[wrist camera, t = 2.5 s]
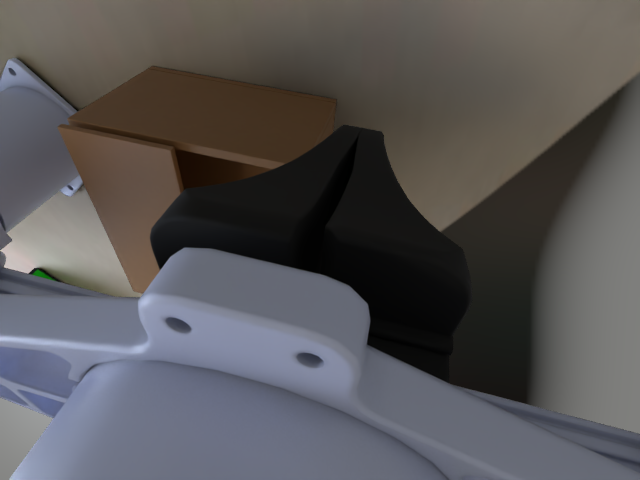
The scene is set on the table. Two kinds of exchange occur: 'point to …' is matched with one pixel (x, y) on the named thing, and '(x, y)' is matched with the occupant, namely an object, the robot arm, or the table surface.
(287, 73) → the table surface
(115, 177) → the carton
